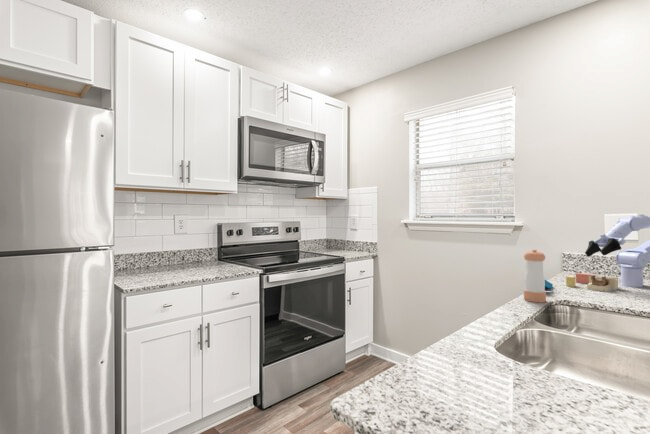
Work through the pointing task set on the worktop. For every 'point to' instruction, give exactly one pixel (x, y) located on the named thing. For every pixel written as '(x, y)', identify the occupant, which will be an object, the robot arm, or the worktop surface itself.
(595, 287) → the jig
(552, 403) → the worktop surface
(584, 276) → the pink flat block
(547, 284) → the lever
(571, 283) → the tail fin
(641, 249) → the robot arm
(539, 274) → the salt shaker
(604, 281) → the brown curved piece
